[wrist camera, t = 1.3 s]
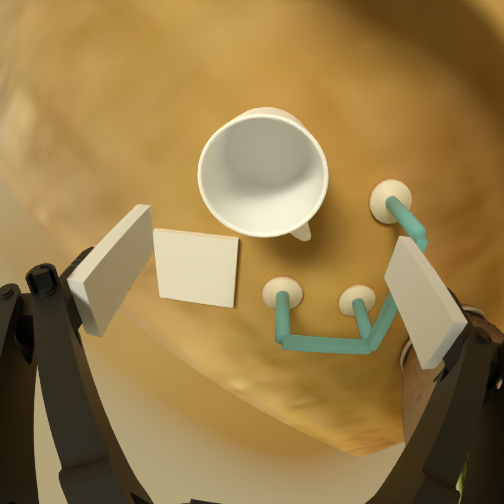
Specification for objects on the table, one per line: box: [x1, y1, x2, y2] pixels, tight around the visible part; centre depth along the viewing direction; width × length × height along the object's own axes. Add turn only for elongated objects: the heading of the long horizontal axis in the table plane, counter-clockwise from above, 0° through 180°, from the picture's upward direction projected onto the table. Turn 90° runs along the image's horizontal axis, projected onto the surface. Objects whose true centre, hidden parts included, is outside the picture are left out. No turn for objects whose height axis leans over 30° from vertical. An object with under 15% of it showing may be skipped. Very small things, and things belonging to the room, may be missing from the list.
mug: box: [198, 107, 329, 241], centre depth 24 cm, size 9×12×11 cm
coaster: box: [153, 228, 239, 308], centre depth 35 cm, size 10×10×1 cm
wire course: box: [262, 179, 428, 354], centre depth 29 cm, size 19×15×9 cm
